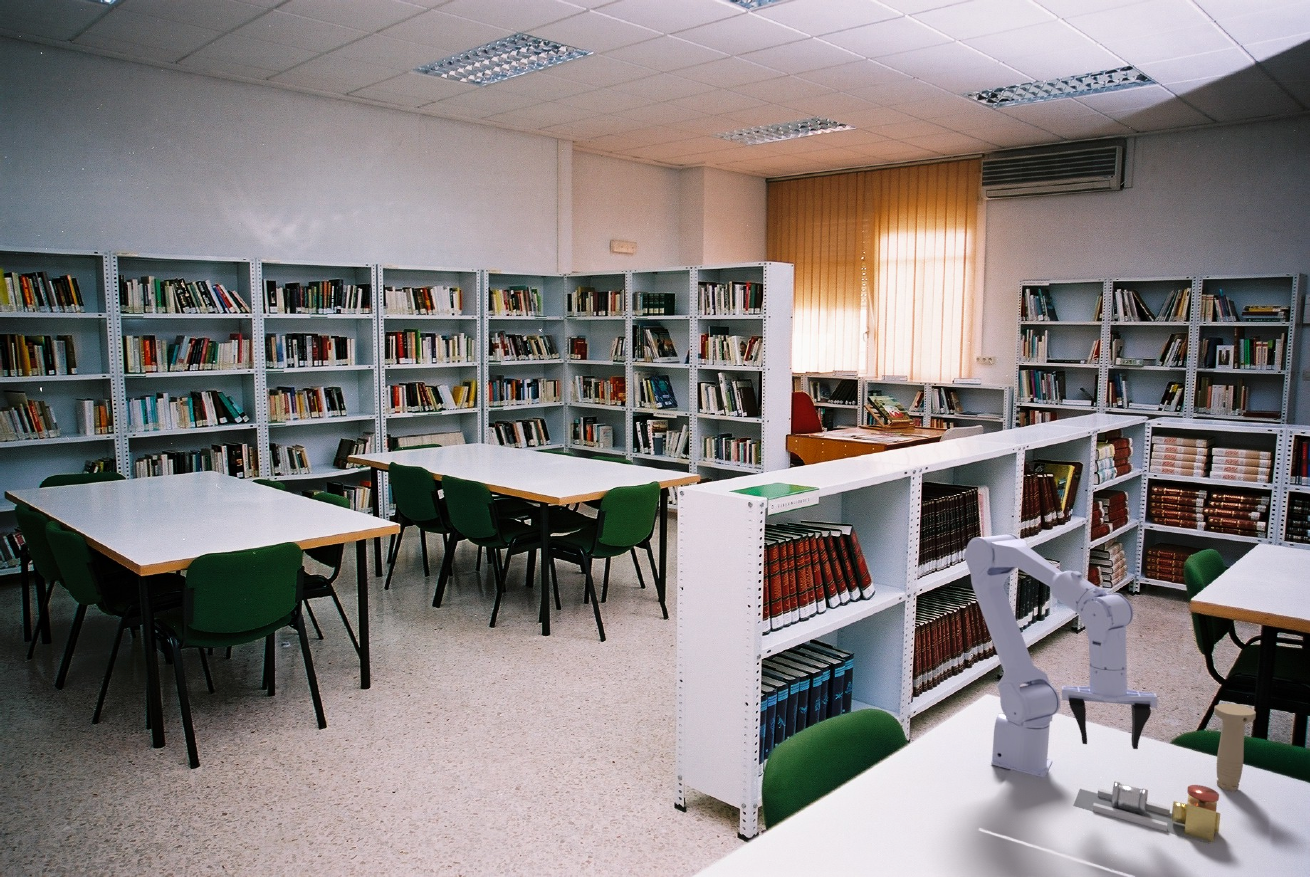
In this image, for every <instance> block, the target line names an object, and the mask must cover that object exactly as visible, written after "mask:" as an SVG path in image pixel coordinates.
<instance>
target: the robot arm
mask: <svg viewBox="0 0 1310 877" xmlns="http://www.w3.org/2000/svg"><path fill="white" fill-rule="evenodd" d="M963 557H964V560H965V562H966V565H967V568H968V571H969V572H970V580H971V586H972V589H973V591H974V592H973V593H974V594H975V596H976V600H977V603H978V605H979V608H980V610H981V614H982V616H983V619H984V621H985V624H986V627H987V630H988V632H989V635H990V638H991V640H992V644H993V645H994V648H995V652H996V654H997V656H998V659H999V662H1000V664H1001V667H1002V670H1003V674H1002V677H1001V679H1000V680H999V682H998V684H997V688H998V691H999V697H1000V698H999V699H1000V708H1001V710H1002V712H1003V713H1002V712H999V713H998V714H997V716H996V719H995V723H994V729H993V739H992V740H993V741H992V742H993V743H992V756H991V757H992V758H991V763H990V764H991V765H992V766H996V767H999V768H1004V769H1007V770H1013V771H1017V772H1021V773H1025V774H1028V775H1032V776H1035V777H1039V778H1043V779H1044V778H1045V777H1046V776H1047V774H1048V772H1049V769H1050V767H1051V765H1052V763H1053V760H1052V759H1050V758H1048V752H1049V739H1050V726H1051V722H1053V716H1054V715H1056V714H1058V712H1059V710H1060V709H1061V701H1067V702H1068V704H1069V708H1070V710H1071V712H1072V713H1073V715H1074V718H1075V721H1076V722H1077V725H1078V728H1079V730H1080V734H1081V743H1082V744H1083V745H1088V737H1087V736H1088V735H1087V724H1086V723H1087V718H1086V717H1087V716H1086V714H1087V713H1086V702H1094V703H1106V704H1107V703H1108V704H1118V705H1129V706H1130V708H1131V724H1132V725H1131V746H1132V749H1133V750H1138V748H1139V743H1140V738H1141V735H1142V732H1143V729H1144V727H1145V725H1146V723H1147V722H1148V720H1149V719H1150V716H1151V714H1152V713H1151V712H1152V710H1151V708H1152V709H1153V708H1154V709H1158V706H1159V705H1158V696H1157V693H1155V692H1147V691H1140V690H1139V691H1138V690H1133V689H1128V675H1127V674H1128V673H1127V672H1128V670H1127V666H1128V665H1127V664H1128V663H1127V626H1129V625H1130V624H1131V623H1132V621H1133V619H1134V610H1133V609H1134V608H1133V606H1132V604H1131V602H1130V601H1129V600H1128V599H1127V598H1126V597H1124V595H1123V594H1122V593H1119V592H1112V593H1109V592H1107V591H1105V589H1104V588H1103V587H1102V586H1097V585H1095V584H1093V583H1092V582H1090V581H1089V580H1087V579H1085V577H1083V575H1084V574H1083V573H1081V572H1080V571H1078V570H1075V571H1074V570H1065V571H1061V570H1060V569H1059V568H1057V567H1056V566H1055V565H1054V564H1052V563H1051V562H1050V561H1048V560H1047V559H1045V558H1044V557H1043V556H1042V555H1040V554H1038V553H1037V552H1036V551H1035V550H1033V549H1032V548H1030V547H1029V546H1028V542H1027V541H1026V540H1024V539H1023V538H1020V536H1018V535H1017V534H1015V533H1010V532H1009V533H1005V534H999V535H992V536H991V535H990V536H982V537H981V536H976V537H973V538H971V540H970V541H968V543H967V545H966V548H965V551H964V553H963ZM1017 568H1018V569H1019V570H1020V571H1022V572H1023V573H1026V574H1027V575H1029V576H1031V577H1033V578H1034V579H1036V580H1038V581H1040V582H1041V583H1043V584H1045V585H1046V586H1048V587H1049V588H1050V592H1051V596H1052V597H1053V598H1054V599H1057V600H1058V601H1059V602H1060V603H1062V604H1063V605H1064V606H1066V607H1068V608H1069V609H1071V610H1072V611H1073V612H1075V613H1077V614H1078V615H1079V617H1080V619H1081V622H1082V623H1083V625H1084V626H1085V630H1086V636H1087V638H1088V658H1089V659H1088V660H1089V662H1088V664H1089V670H1088V671H1089V672H1088V674H1089V685H1088V686H1087V685H1086V686H1085V685H1084V686H1082V685H1081V686H1064V685H1061V698H1060V695H1059V692H1058V690H1057V688H1056V687H1054V686H1053V684H1052V683H1051V680H1050V679H1049V677H1048V674H1047V673H1046V672H1044V671H1043V670H1042V669H1040V668H1038V667H1037V666H1035V665H1034V664H1033V660H1032V658H1031V655H1030V653H1029V651H1028V650H1029V649H1028V647H1027V645H1026V642H1025V640H1024V637H1023V635H1022V632H1021V630H1020V626H1019V624H1018V621H1017V619H1016V616H1015V614H1014V611H1013V608H1012V605H1011V602H1010V601H1009V598H1008V595H1007V592H1006V590H1005V587H1004V586H1005V583H1006V581H1007V578H1009V577H1010V576H1011V575H1012V573H1014V571H1015V570H1016V569H1017ZM1023 684H1025V685H1023ZM1021 685H1022V686H1021Z"/></svg>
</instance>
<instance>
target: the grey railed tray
mask: <svg viewBox="0 0 1310 877" xmlns="http://www.w3.org/2000/svg"><path fill="white" fill-rule="evenodd" d="M1112 792H1113V791H1109V790H1107V789H1102V788H1098V790H1097V792H1095V791H1091V790H1087V789H1082V788H1079V790H1078V793H1077V795H1076V798H1075V801H1074V803H1073V806H1074V807H1077V808H1081V809H1083V810H1087V811H1091V812H1095V813H1097V814H1101V815H1105V816H1109V817H1111V818H1116V819H1119V820H1123V821H1127V822H1131V823H1134V824H1137V825H1141V826H1144V827H1148V828H1151V829H1155V830H1157V831H1162V832H1165V833H1170V834H1173V835H1177V836H1180V837H1183V838H1187V839H1191V840H1194V841H1198V842H1202V843H1205V844H1209V845H1210V842H1211V841H1208V840H1204V839H1200V838H1197V837H1193V836H1190V835H1186V834H1184V833H1185V824H1181V823H1177V822H1174V821H1172V812H1171V807H1170V806H1166V805H1161V804H1158V803H1155V802H1151V801H1148V800H1147V807H1146V814H1145V816H1142V815H1139V814H1138V813H1135V812H1131V811H1128V810H1124V809H1120V808H1113V807H1112V806H1111V803H1112Z"/></svg>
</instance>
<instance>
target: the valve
mask: <svg viewBox="0 0 1310 877" xmlns="http://www.w3.org/2000/svg"><path fill="white" fill-rule="evenodd" d="M1186 789H1187V794H1188V796H1187V803H1182V802H1179V801H1175V800H1173V801H1172V802H1173V803H1172V809H1171V810H1172V811H1171V813H1172V821H1174V822H1177V823H1181V824H1185V833H1184V834H1186V835H1190V836H1193V837H1197V838H1200V839H1204V840H1208V841H1210V842H1212V843H1214V836H1215V834H1219V832H1220V824H1221V823H1220V822H1221V812H1217V804H1218V802H1219V799H1220V794H1219V793H1218V791H1216V790H1215V789H1213V788H1210V787H1208V786H1206V785H1200V784H1191V785H1188V786H1187V788H1186Z"/></svg>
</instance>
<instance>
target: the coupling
mask: <svg viewBox="0 0 1310 877" xmlns="http://www.w3.org/2000/svg"><path fill="white" fill-rule="evenodd" d="M1111 792H1112V803H1111V806H1112V807H1113V808H1120V809H1124V810H1128V811H1131V812H1135V813H1138V814H1139V815H1142V816H1145V814H1146V807H1147V801H1148V797H1149V795H1148V794H1149V790H1148V789H1146V788H1139V787H1134V786H1130V785H1127V784H1123V783H1121V782H1119V781H1115V780H1114V783H1113V788H1112V791H1111Z"/></svg>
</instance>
